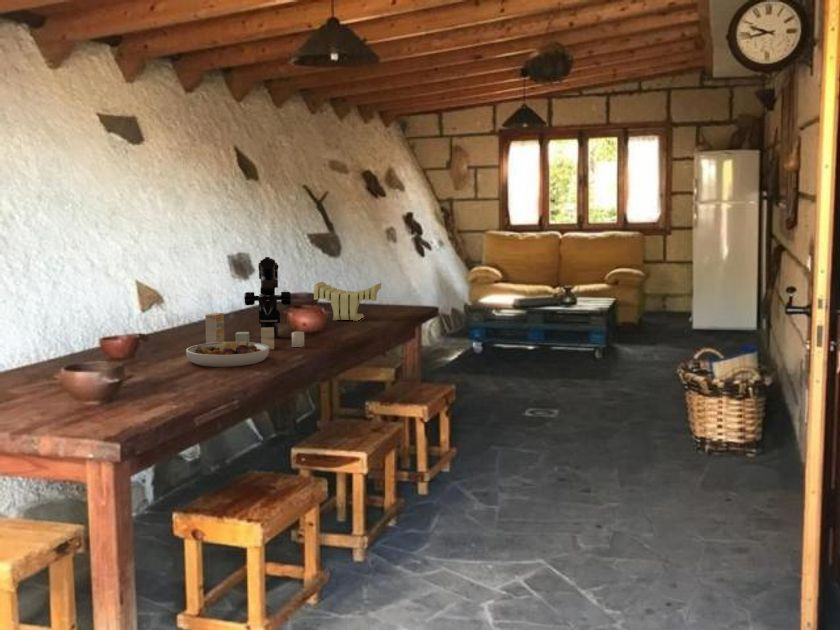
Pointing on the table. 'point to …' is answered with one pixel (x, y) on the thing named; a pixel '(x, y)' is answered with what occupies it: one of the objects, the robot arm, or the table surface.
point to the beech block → (267, 337)
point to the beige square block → (297, 339)
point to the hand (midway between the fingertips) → (267, 314)
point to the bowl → (227, 353)
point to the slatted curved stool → (345, 300)
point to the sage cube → (242, 336)
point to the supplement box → (214, 327)
